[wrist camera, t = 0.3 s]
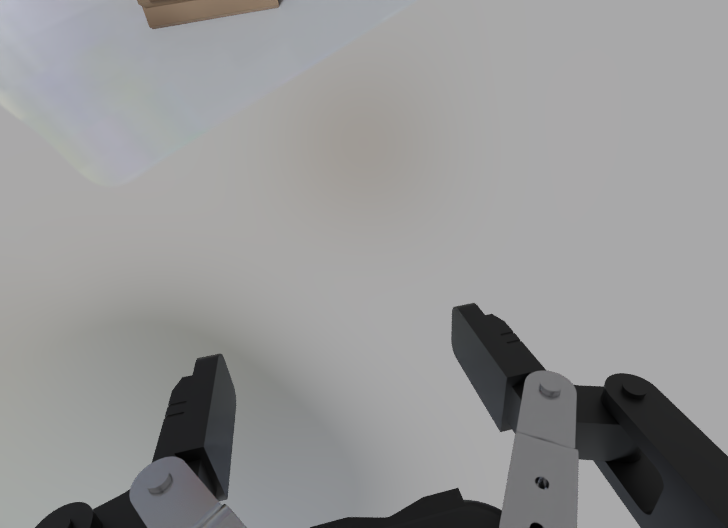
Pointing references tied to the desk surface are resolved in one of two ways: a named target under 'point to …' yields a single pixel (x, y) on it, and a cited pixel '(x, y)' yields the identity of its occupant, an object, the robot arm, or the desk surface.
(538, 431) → the robot arm
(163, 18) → the wooden double tray
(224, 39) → the desk surface
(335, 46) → the desk surface
